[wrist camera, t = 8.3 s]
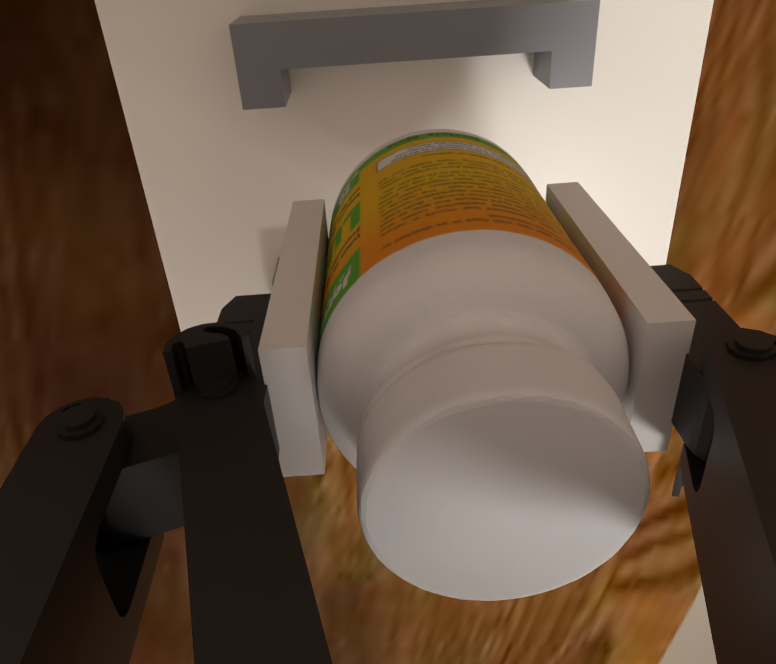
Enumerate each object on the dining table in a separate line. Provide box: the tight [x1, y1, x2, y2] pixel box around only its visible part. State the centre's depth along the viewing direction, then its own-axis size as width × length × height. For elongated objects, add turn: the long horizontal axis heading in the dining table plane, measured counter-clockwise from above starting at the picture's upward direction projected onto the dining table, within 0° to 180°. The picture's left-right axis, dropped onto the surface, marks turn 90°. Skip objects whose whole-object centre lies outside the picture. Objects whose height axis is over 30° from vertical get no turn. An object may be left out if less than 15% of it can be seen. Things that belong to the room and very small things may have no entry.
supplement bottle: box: [317, 129, 650, 601], centre depth 13 cm, size 5×5×10 cm
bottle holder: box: [94, 0, 714, 332], centre depth 22 cm, size 18×18×4 cm
